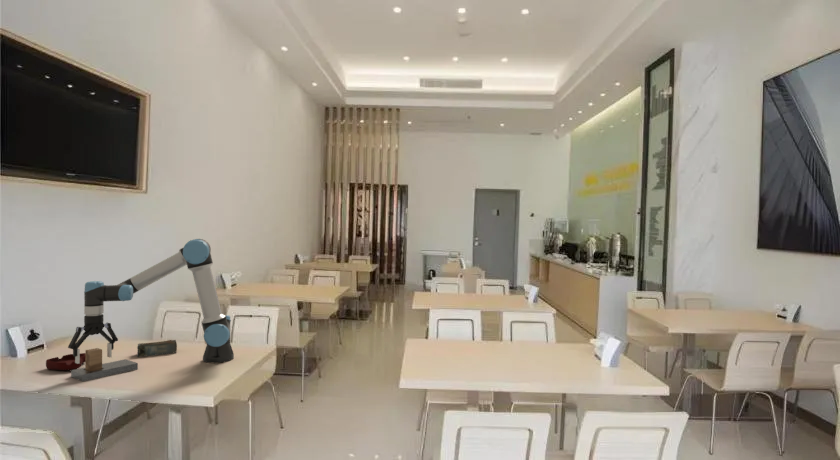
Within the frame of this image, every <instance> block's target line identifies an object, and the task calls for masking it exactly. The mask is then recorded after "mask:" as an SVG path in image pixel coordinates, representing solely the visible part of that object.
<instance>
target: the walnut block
mask: <svg viewBox="0 0 840 460" xmlns="http://www.w3.org/2000/svg"><path fill="white" fill-rule="evenodd" d="M85 353H86V357H85V362H84V363H85V364H84V365H85V367H84V368H85V370H86V371H88V372H91V371H95V370H100V369H102V364H103V349H101V348H98V347H96V348H91V349H85Z"/></svg>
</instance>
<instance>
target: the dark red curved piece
mask: <svg viewBox="0 0 840 460" xmlns="http://www.w3.org/2000/svg"><path fill="white" fill-rule="evenodd" d="M85 357H86V352H84V353H82V352H81V353H80V364H77V363H75V357H74V356H73V353H72V354H71V353H69V354H65V355H62V356H61V358H60V357H59V356H56V357H53V358H52V357H51V358H48V359H46V361H45V367H46V369H47V370H50V369H51V371H69V370H75V369H80V368H82V365H85V364H84V363H85Z"/></svg>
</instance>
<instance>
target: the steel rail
mask: <svg viewBox="0 0 840 460" xmlns="http://www.w3.org/2000/svg"><path fill="white" fill-rule="evenodd" d="M138 367H139V365H138V362H136V361H132V360H129V359H126V358H125V359H120V360H115V361H109V362H105V363H102V369H100V370H95V371H91V372H88V371H86V370H85V367H79V368H77V369H75V370H71V371H70V377H71V378H73V379H75V380H78V381H80V382H86V381H87V382H88V381H91V380H95V379H100V378H104V377H108V376H113V375H118V374H122V373H126V372H131V371H135V370H139V368H138Z"/></svg>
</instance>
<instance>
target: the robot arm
mask: <svg viewBox="0 0 840 460" xmlns="http://www.w3.org/2000/svg"><path fill="white" fill-rule="evenodd" d="M211 253H212V251H211V245H210V244H209V242H208V241H207V240H205V239H203V238H202V239H201V238H194V239H192V240H191V239H190V240H188V241H187V242H186V243H185V244H184V246H183V247H182V248H180V249H179V250H178V252H177V253H175V254H173V255H171V256H169V257H167V258H165V259H163V260H162V261H160V262H157V263H156V264H154V265H153V266H150V267H148V268H147V269H144V270H143V271H141V272H139V273H137V274H136V275H134V276H132V277H130V278H128V279H126V280H124V281H122V282H120V283H118V284H115V285H112V284H111V285H108V284H107V285H105V284H104V281H102V280H94V281H87V282H85V284H84V291H83V293H84V294H83V299H84V306H83V307H84V310H83V311H84V313H83V314H84V317H83V318H84V319H83V320H84V321H83V322H84V325H83V326H76V328H75V332H74V334H73V337H72V339H71V341H70V342H69V344H68V346H67V348H68V349H71V350H72V354H73V356H74V357H75V363H77V364H80V346H81V345H82V344H83V343H84V342H85V341H86V339H87V338H88V337H90V336H93V335H99V334H100V335H101V336H102V337H103V338H104V339H105V340H106V341H108V342H107V345H106V347H107V349H106V350H107V351H106V352H107V353H106V354H107V355H106V357H107V358H112V353H113V352H112V351H113V350H114V348H115V347H114V344H115V343H116V342H117V341H119V338H118V337H117V335H116V333H115V331H114V329H113V328H112V324H111V323H110V322H106V323H104V302H125V301H128V302H129V301H132V299H133V297H134V294H136V293H137V292H139V291H141V290H143V289H144V288H146V287H148V286H150V285H152V284H154V283H156V282H157V281H159V280H161V279H163V278H165V277H167V276H169V275H172V274H173V273H175V272H176V271H178V270H180V269H183V268H184V267H187V270H189V271H191V272H192V276H193V280H194V285H195V288H196V292H197V296H198V301H199V305H200V308H201V312H202V313H201V314H202V316H203V319H202V320H201V326H202V330H203V331H202V332H203V339H204V342H205V344H206V346H205V349H204V352H203V356H202V362H204V363H209V362H218V363H224V361H225V362H230V361H232V360H234V357H235V356H234V355H235V354H234V351H233V348H232V345H231V321H232V320H231V316H230V315H226V314H224V313H223V311H222V308H221V305H220V300H219V296H218V292H217V288H216V285H215V281H214V275H213V272H212V269H211V267H212V265H213V259H212V254H211ZM104 328H106V330H107V332H108V334H109V335H110V336H109V335H108V334H107V333H106V331H104ZM83 331H84V332H83ZM82 332H83V333H82ZM81 334H82V335H81ZM80 336H81V337H80ZM231 359H232V360H231Z"/></svg>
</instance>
